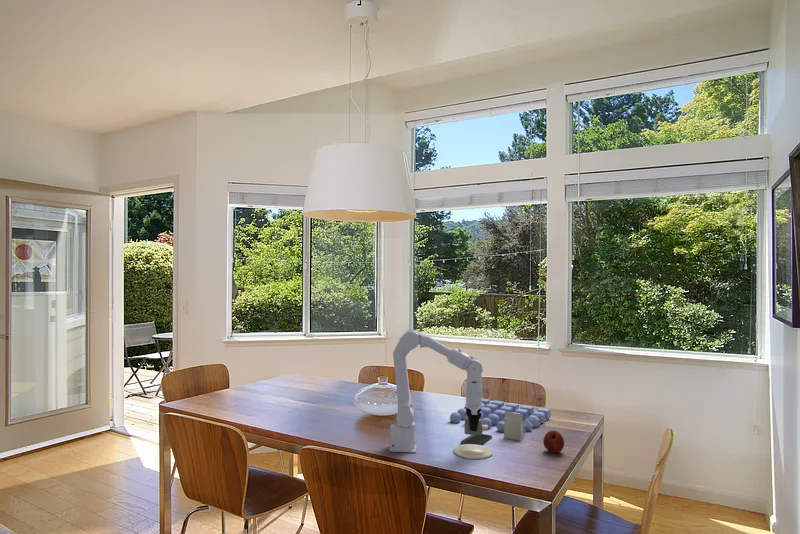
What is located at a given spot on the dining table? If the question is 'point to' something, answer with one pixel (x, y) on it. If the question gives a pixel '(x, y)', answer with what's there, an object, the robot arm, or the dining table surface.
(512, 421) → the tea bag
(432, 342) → the robot arm
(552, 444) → the apple
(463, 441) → the phone
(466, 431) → the connector
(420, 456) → the dining table surface
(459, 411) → the blocks
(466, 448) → the plate
